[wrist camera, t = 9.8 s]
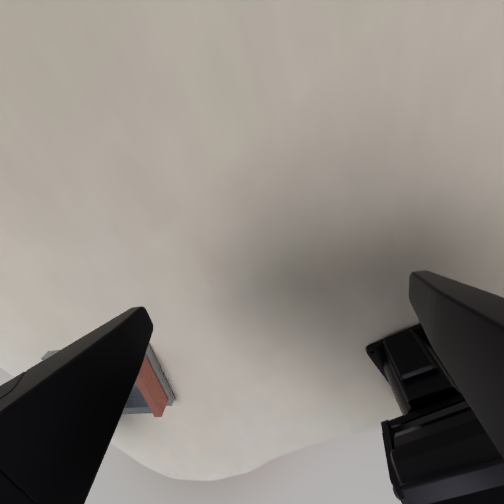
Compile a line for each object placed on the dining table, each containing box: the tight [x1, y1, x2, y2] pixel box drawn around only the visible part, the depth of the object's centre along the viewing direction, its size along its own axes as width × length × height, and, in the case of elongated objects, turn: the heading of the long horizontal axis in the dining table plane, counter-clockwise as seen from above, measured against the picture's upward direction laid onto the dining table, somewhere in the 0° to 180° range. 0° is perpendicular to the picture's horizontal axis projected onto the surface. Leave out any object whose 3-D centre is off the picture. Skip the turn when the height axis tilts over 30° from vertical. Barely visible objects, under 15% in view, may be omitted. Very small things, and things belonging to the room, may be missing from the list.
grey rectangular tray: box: [41, 345, 175, 417], centre depth 30 cm, size 13×9×3 cm
